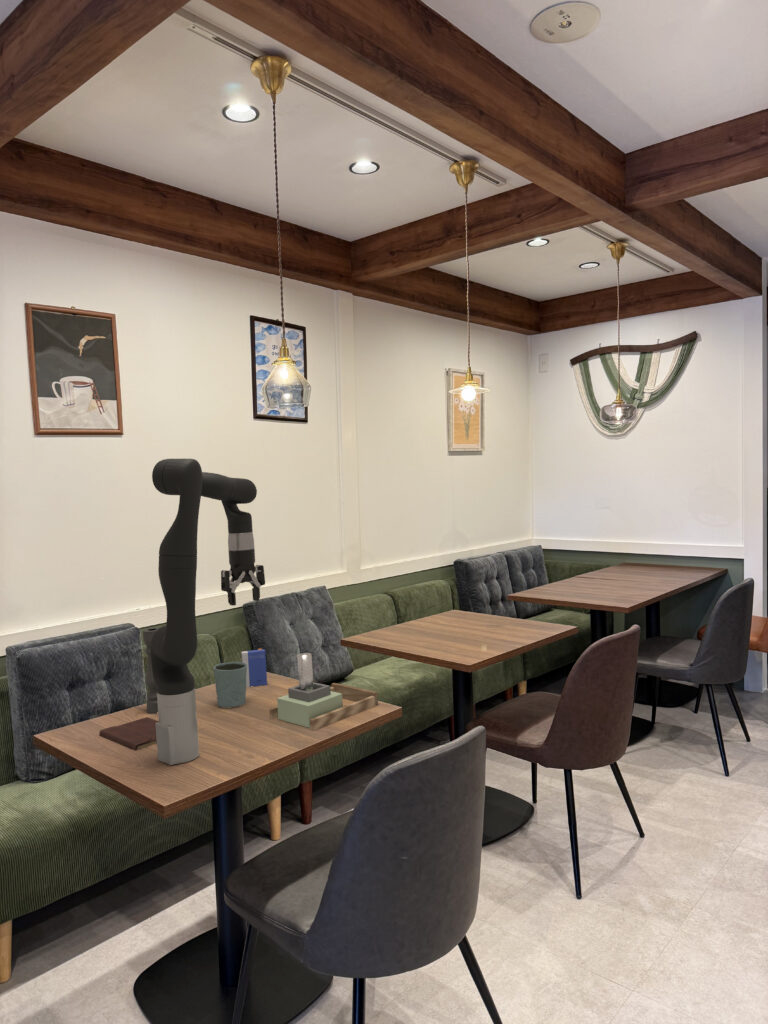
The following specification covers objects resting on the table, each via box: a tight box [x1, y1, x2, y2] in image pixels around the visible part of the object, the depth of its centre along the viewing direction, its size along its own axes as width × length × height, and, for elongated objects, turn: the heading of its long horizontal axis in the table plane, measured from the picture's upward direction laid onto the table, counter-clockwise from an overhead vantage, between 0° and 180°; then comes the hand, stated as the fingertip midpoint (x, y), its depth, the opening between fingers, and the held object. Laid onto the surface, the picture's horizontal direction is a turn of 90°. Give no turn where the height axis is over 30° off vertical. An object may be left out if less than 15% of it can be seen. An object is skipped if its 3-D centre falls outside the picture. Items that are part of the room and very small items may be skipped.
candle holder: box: [142, 627, 160, 714], centre depth 223 cm, size 6×6×25 cm
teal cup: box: [213, 661, 247, 709], centre depth 226 cm, size 10×10×12 cm
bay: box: [268, 682, 379, 732], centre depth 211 cm, size 26×18×5 cm
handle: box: [296, 652, 314, 692], centre depth 205 cm, size 4×4×12 cm
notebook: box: [98, 716, 159, 751], centre depth 202 cm, size 15×20×2 cm
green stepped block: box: [276, 681, 344, 729], centre depth 207 cm, size 13×13×8 cm
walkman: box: [241, 648, 268, 688], centre depth 246 cm, size 8×3×12 cm, turn 105°
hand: (244, 602), depth 214 cm, fingers open, 8 cm apart
